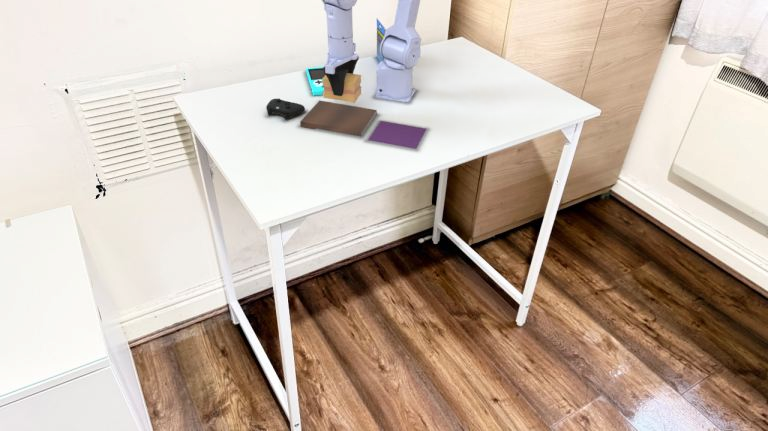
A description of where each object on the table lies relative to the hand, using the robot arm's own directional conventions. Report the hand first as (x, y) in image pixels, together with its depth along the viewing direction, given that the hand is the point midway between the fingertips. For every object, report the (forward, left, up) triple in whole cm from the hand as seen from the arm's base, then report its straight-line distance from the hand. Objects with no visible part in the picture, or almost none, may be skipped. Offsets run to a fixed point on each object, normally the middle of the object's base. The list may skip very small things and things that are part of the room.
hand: (342, 90), depth 127 cm
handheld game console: (-13, +20, -9) cm, 26 cm away
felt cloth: (+15, -2, -9) cm, 17 cm away
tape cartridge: (-1, +39, -9) cm, 40 cm away
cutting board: (-1, 0, -9) cm, 9 cm away
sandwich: (0, 0, -2) cm, 2 cm away
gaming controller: (-16, -1, -9) cm, 18 cm away
